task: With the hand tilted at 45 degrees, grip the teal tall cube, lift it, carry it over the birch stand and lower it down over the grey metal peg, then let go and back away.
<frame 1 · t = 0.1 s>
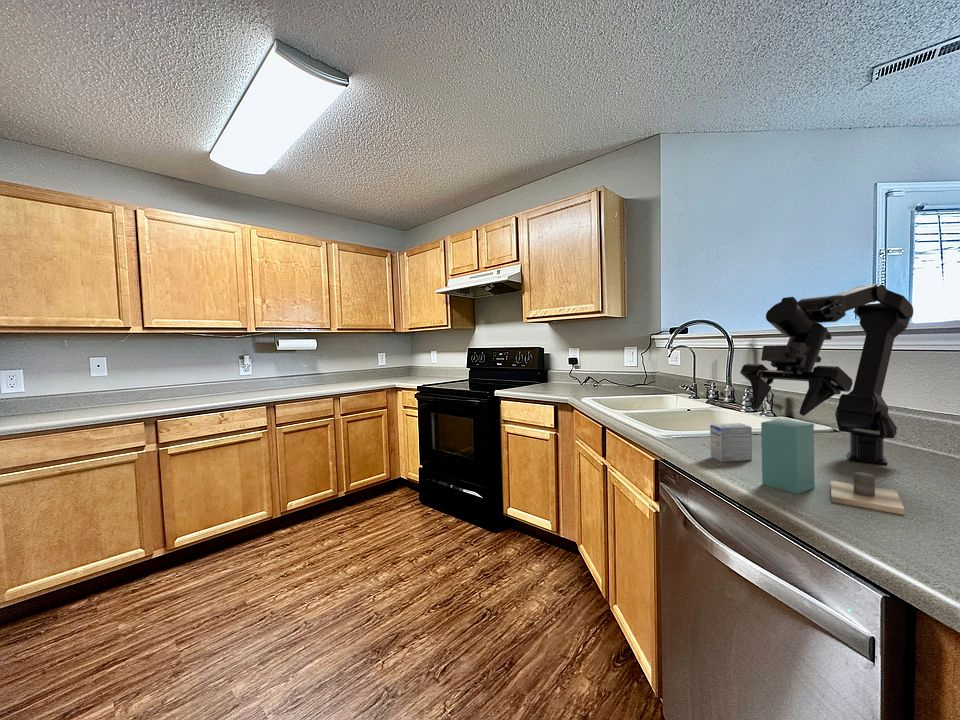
hand: (777, 411, 81), 15 cm above the countertop, tool tilted 35°, fingers open, 9 cm apart
peg stand: (864, 498, 71), on the countertop
teal tall cube: (787, 486, 78), on the countertop
medicine box: (731, 460, 96), on the countertop
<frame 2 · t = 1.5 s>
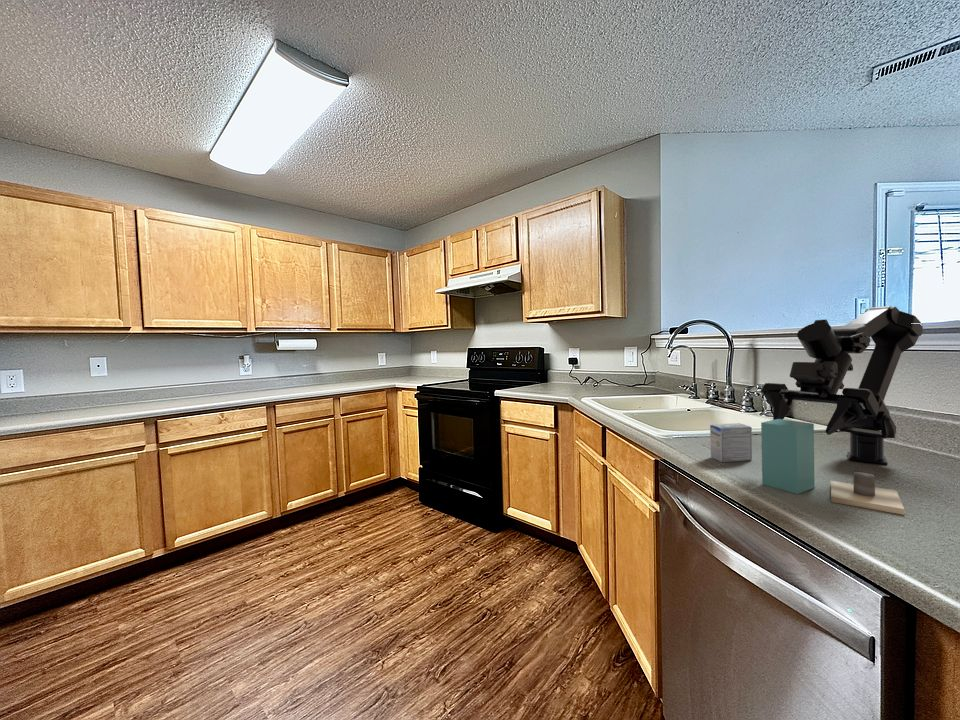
hand: (799, 429, 79), 11 cm above the countertop, tool tilted 45°, fingers open, 9 cm apart
nothing on the countertop moved.
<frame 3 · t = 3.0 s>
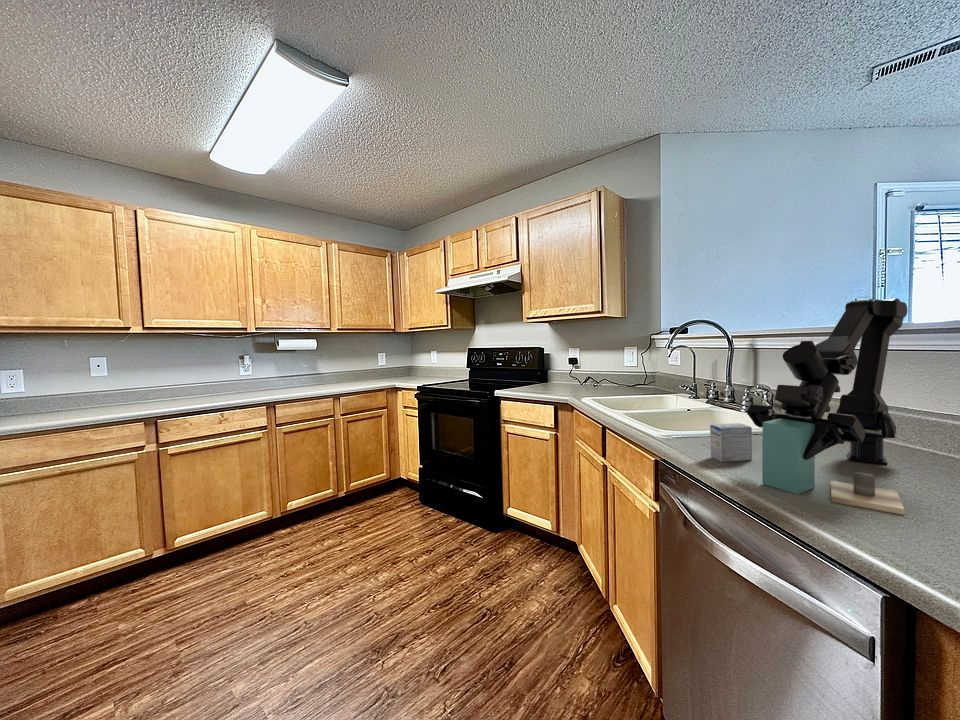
hand: (784, 454, 77), 7 cm above the countertop, tool tilted 45°, fingers closed on teal tall cube, 7 cm apart
teal tall cube: (787, 485, 78), on the countertop, touching gripper
everything else where it was.
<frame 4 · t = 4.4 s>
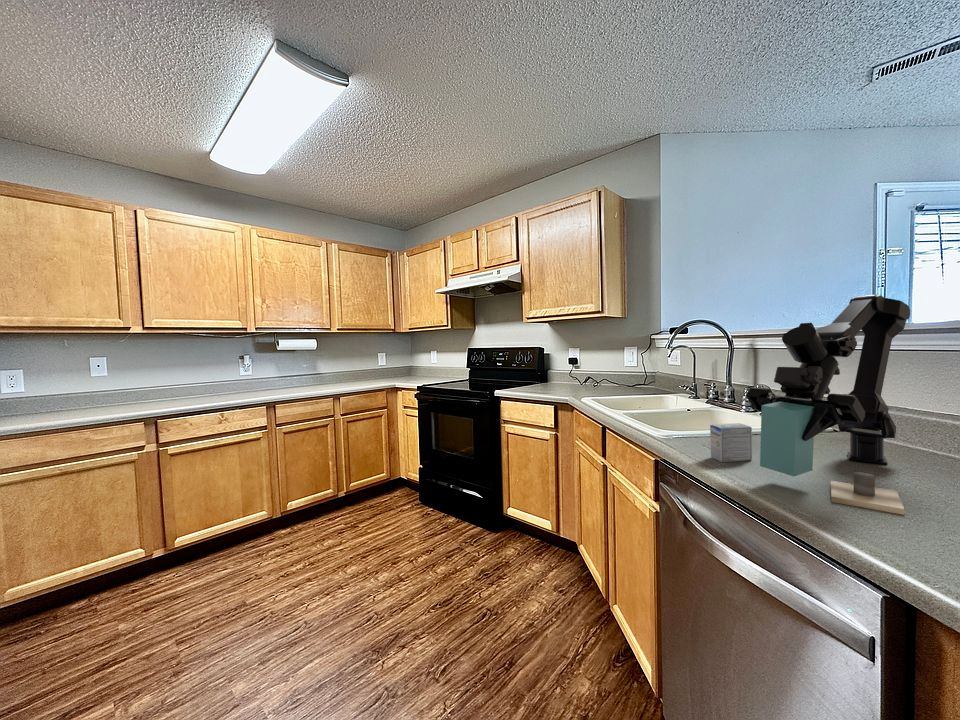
hand: (784, 436, 77), 10 cm above the countertop, tool tilted 45°, fingers closed on teal tall cube, 6 cm apart
teal tall cube: (785, 468, 78), point 4 cm above the countertop, touching gripper
everything else where it was.
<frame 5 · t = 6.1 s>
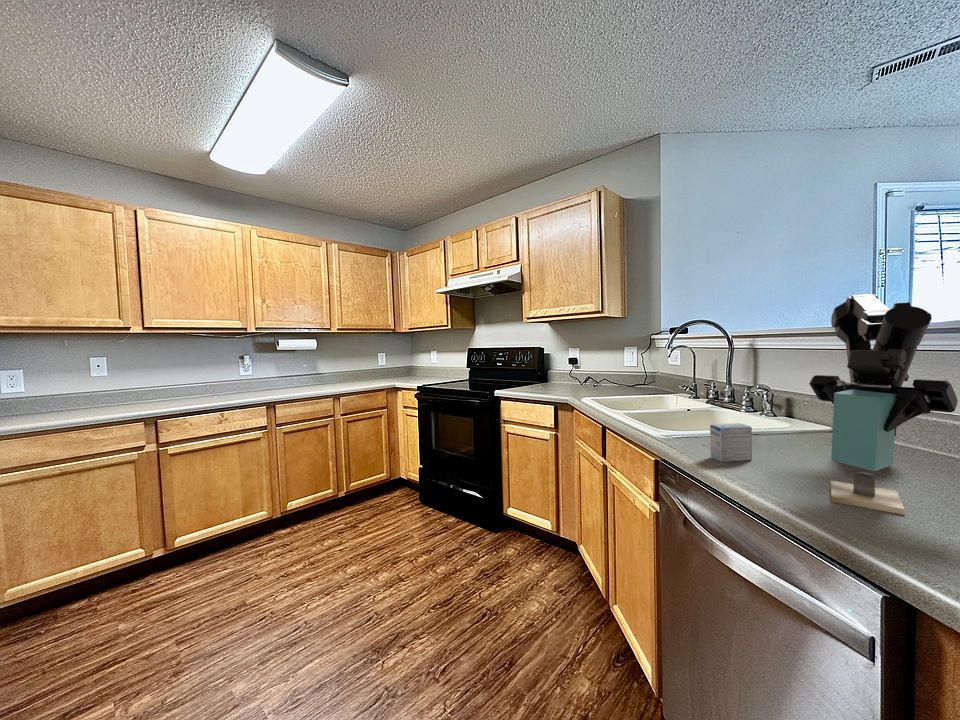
hand: (860, 426, 70), 14 cm above the countertop, tool tilted 45°, fingers closed on teal tall cube, 6 cm apart
teal tall cube: (861, 462, 71), point 7 cm above the countertop, touching gripper
everything else where it was.
when the fingers open (9 cm above the countertop, at t = 8.0 s): teal tall cube stays where it is, resting on peg stand.
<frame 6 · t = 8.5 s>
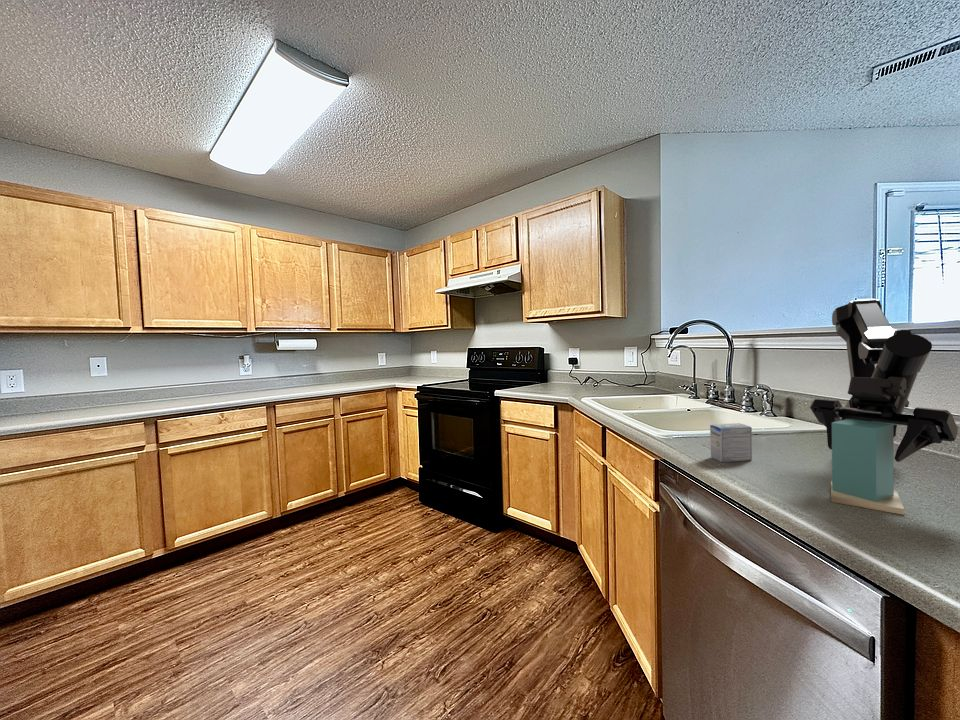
hand: (861, 453, 70), 9 cm above the countertop, tool tilted 45°, fingers open, 9 cm apart
teal tall cube: (862, 492, 71), point 1 cm above the countertop, touching peg stand
everything else where it was.
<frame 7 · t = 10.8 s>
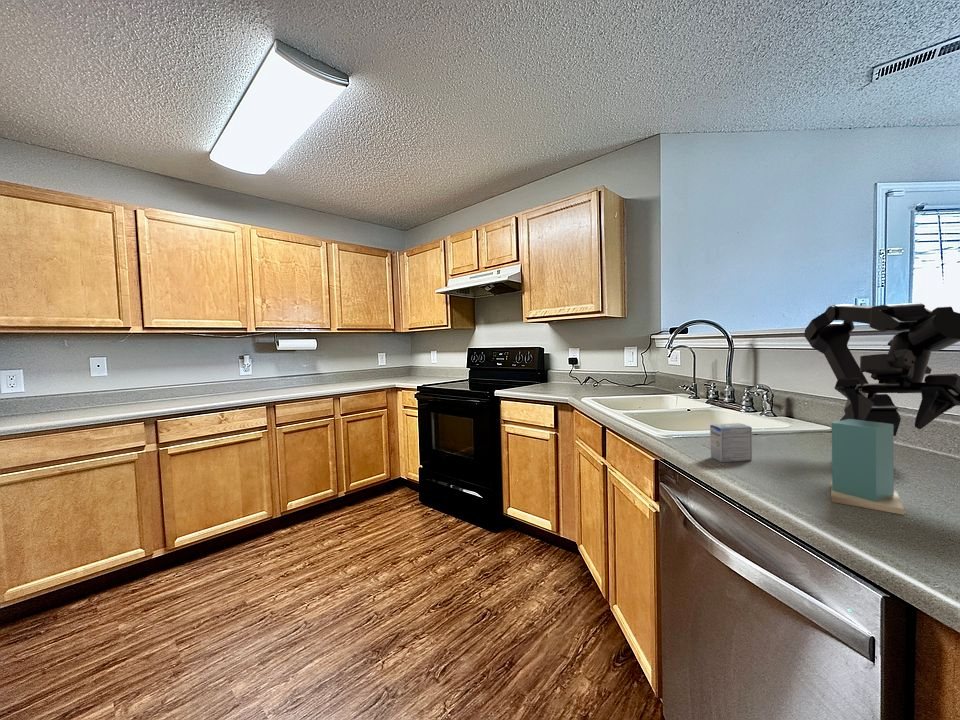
hand: (885, 426, 74), 12 cm above the countertop, tool tilted 35°, fingers open, 9 cm apart
nothing on the countertop moved.
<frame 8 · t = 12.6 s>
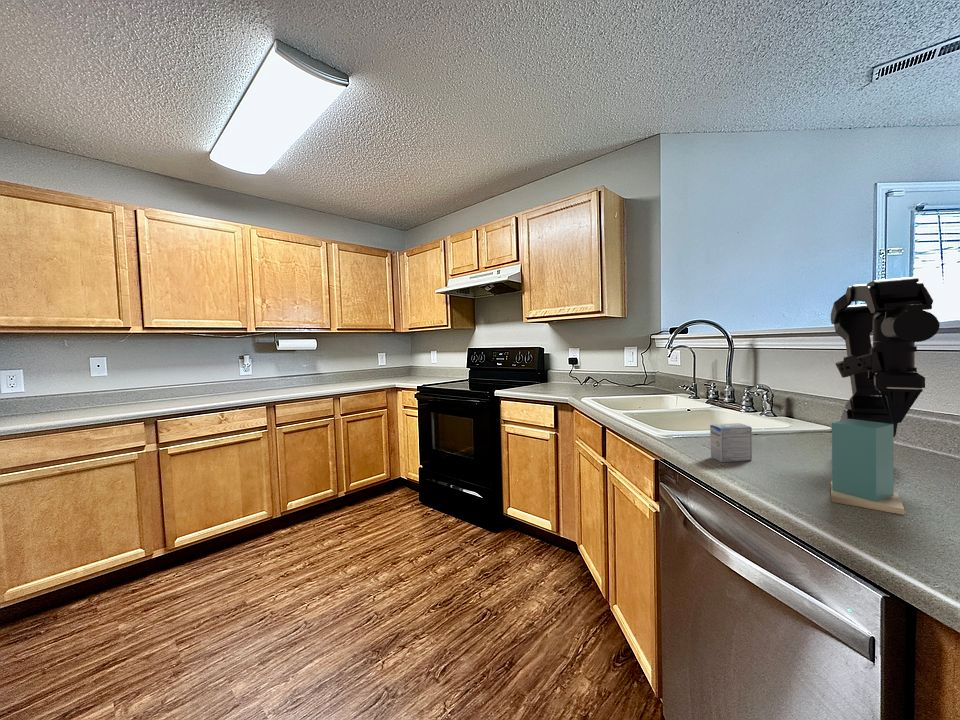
hand: (893, 418, 77), 13 cm above the countertop, tool pointing down, fingers open, 9 cm apart
nothing on the countertop moved.
at the end: teal tall cube 0.3 cm from the peg stand (horizontally); teal tall cube point 1.0 cm above the countertop; teal tall cube tilted 0° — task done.
